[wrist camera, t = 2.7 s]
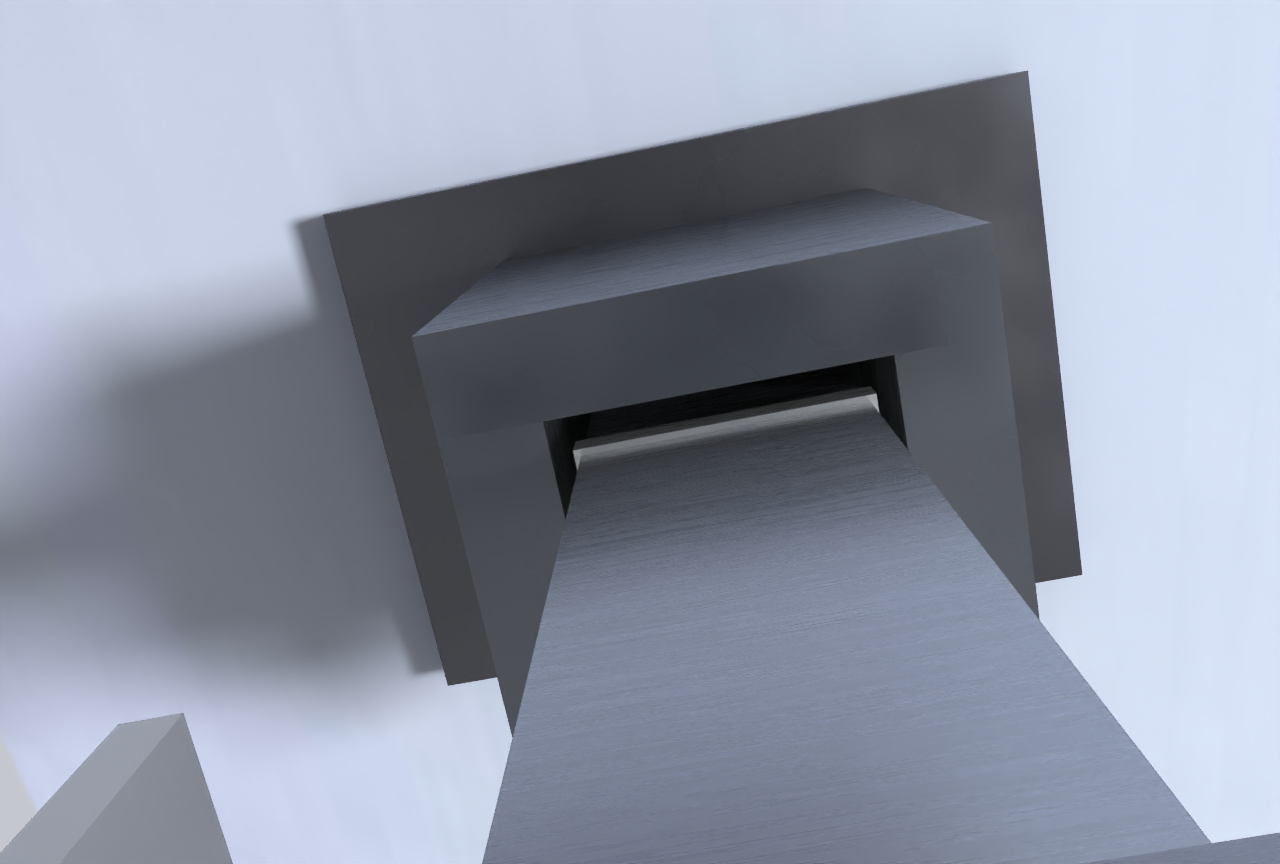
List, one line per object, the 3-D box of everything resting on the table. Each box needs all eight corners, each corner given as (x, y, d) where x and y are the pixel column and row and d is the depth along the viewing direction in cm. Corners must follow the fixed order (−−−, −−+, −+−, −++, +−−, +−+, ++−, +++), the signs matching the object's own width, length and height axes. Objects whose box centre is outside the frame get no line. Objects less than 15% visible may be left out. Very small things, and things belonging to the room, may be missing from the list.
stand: (335, 211, 27) (117, 267, 16) (1014, 73, 26) (1268, 32, 15) (455, 667, 30) (338, 972, 19) (1068, 559, 29) (1312, 817, 18)
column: (595, 323, 26) (322, 1135, 5) (801, 283, 26) (1435, 972, 5) (636, 516, 28) (554, 1834, 6) (833, 480, 27) (1456, 1742, 6)
